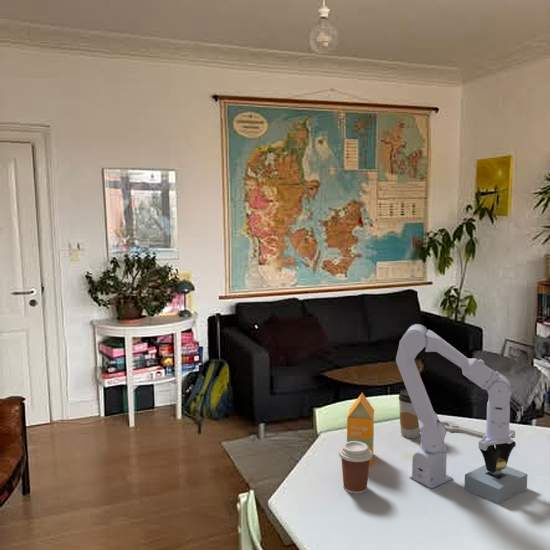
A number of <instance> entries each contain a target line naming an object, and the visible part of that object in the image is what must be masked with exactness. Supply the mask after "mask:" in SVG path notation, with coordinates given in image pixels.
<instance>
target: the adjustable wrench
mask: <svg viewBox="0 0 550 550" xmlns="http://www.w3.org/2000/svg"><path fill="white" fill-rule="evenodd" d="M440 421H441V422H442V423H443V424H444V426H445V428H446V432H448V433H462V434H466V435H468V436H473V437H476V438H479V439H482V438H483V437H484V435H485V434H486V433H485V432H482V431H479V430H474V429H470V428H468V427H467V428H466V427H463V426H461V425H458V424H456V423H455V422H452V421H447V420H440Z"/></svg>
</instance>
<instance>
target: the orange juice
mask: <svg viewBox="0 0 550 550" xmlns="http://www.w3.org/2000/svg"><path fill="white" fill-rule="evenodd" d="M374 414H375V409H374V408H373V406H372V405H371V403H370V401H369V400H368V399H367V398H366V396H365V394H364V393H363V392H361V394H360V395H359V396H358V398H356V400H355V401H354V403H352V405H351V407H350V408H349V410H348V414H347V417H346V442H350V441H358V442H362V443H365V444H366V445H367V446H368V449H369V450H371V452H372V458H371V459H370V461H369V467H372V466H373V460H374V459H373V458H374V438H375V435H374V433H375V427H374V426H375V417H374Z"/></svg>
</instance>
